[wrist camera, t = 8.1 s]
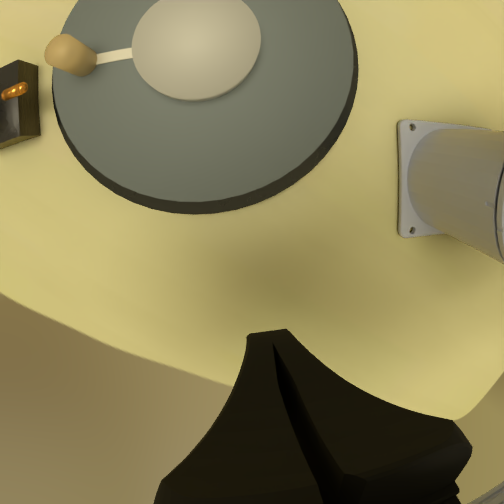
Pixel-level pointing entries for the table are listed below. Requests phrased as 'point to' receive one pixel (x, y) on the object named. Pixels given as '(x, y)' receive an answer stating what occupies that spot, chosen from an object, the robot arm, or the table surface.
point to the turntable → (200, 90)
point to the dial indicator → (18, 103)
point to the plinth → (235, 201)
